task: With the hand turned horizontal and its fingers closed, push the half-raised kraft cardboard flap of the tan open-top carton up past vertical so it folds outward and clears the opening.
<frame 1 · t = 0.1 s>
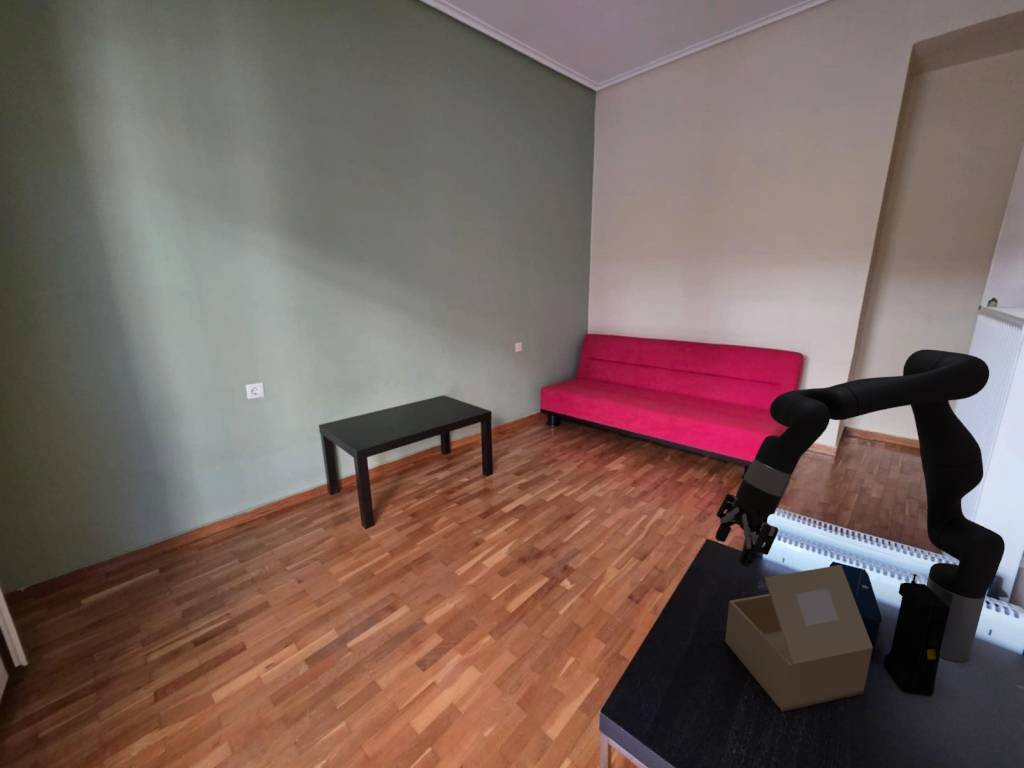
hand: (730, 551, 89), 31 cm above the table, tool tilted 20°, fingers open, 8 cm apart
carton flap: (817, 612, 88), point 19 cm above the table, hinge at 55.0°
portable radio: (909, 683, 92), on the table
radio: (847, 625, 108), on the table
kraft carton: (789, 665, 97), on the table
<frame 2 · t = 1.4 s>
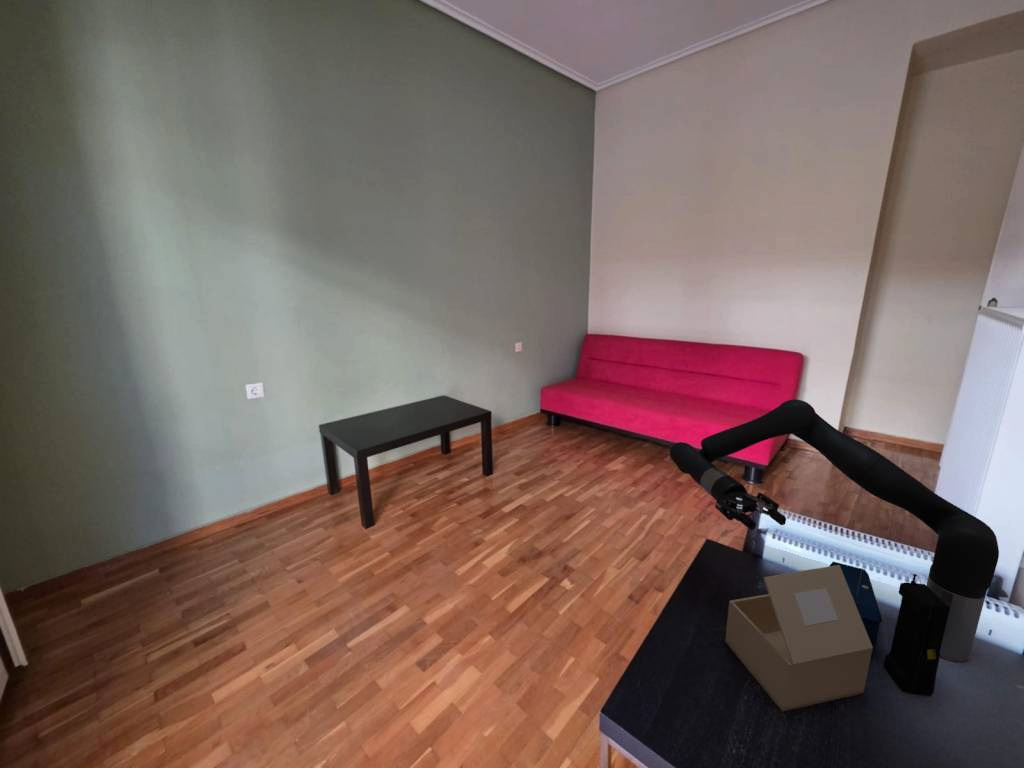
hand: (769, 524, 98), 32 cm above the table, tool horizontal, fingers open, 8 cm apart
carton flap: (817, 611, 88), point 19 cm above the table, hinge at 53.4°
everything else where it was.
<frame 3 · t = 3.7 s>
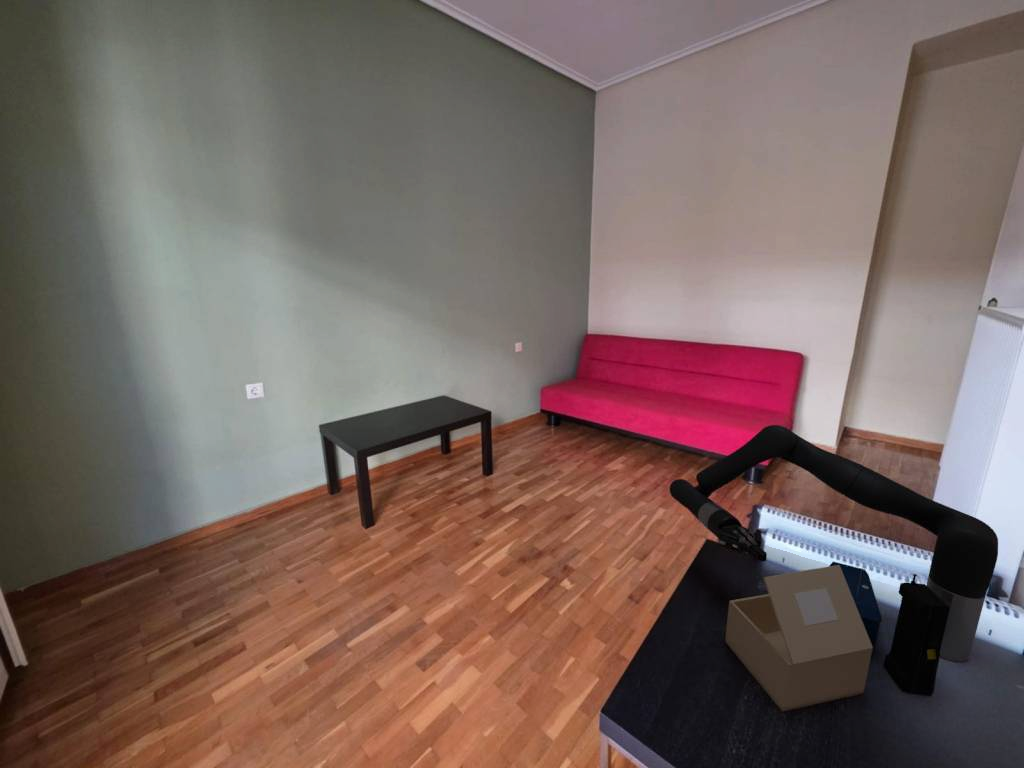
hand: (764, 558, 103), 21 cm above the table, tool horizontal, fingers closed
nothing on the table moved.
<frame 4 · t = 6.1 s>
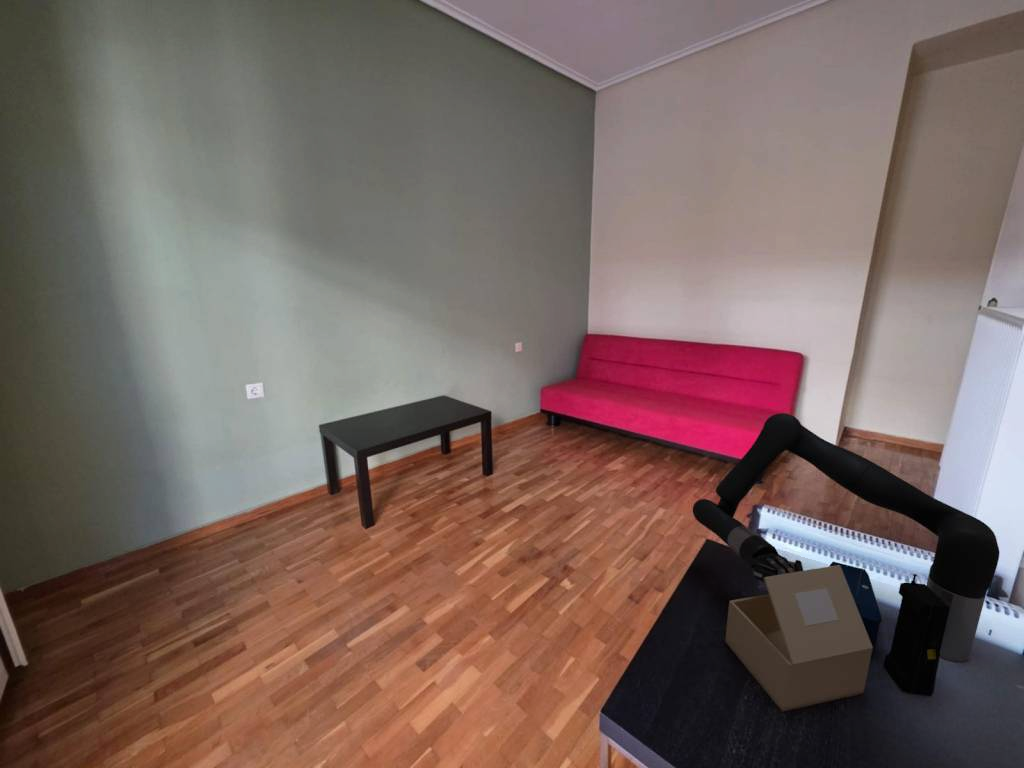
hand: (808, 595, 90), 21 cm above the table, tool horizontal, fingers closed
carton flap: (817, 611, 88), point 19 cm above the table, hinge at 53.9°, touching gripper
everything else where it was.
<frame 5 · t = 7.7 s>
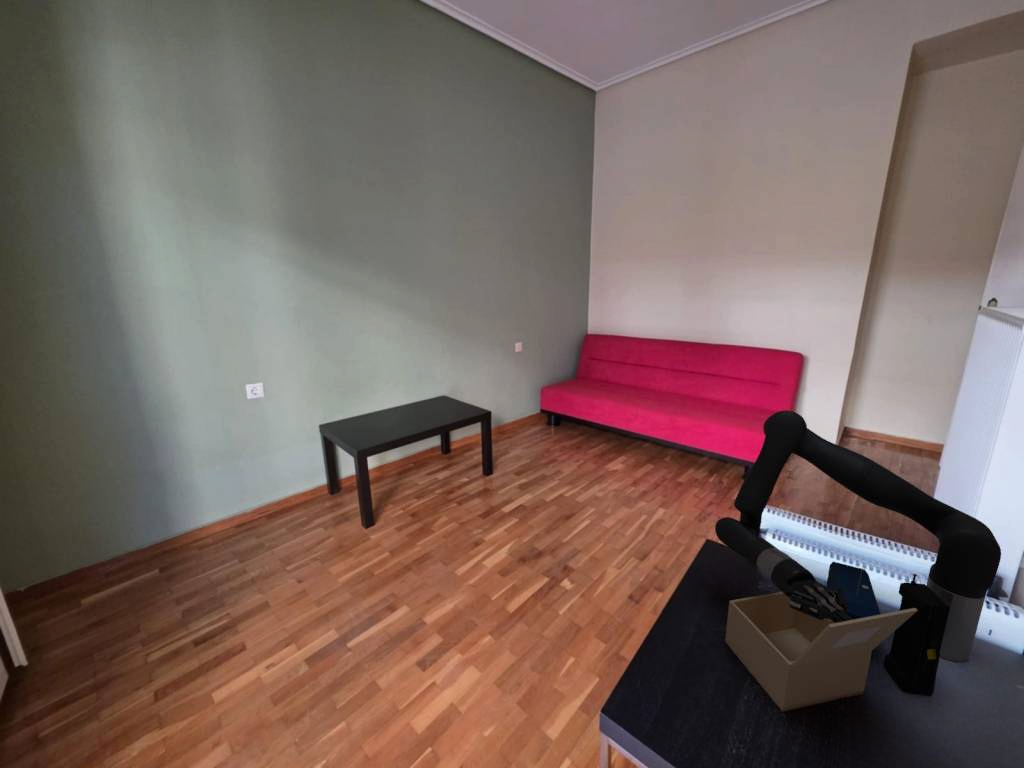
hand: (855, 630, 80), 22 cm above the table, tool horizontal, fingers closed
carton flap: (852, 638, 81), point 20 cm above the table, hinge at 111.5°, touching gripper
everything else where it was.
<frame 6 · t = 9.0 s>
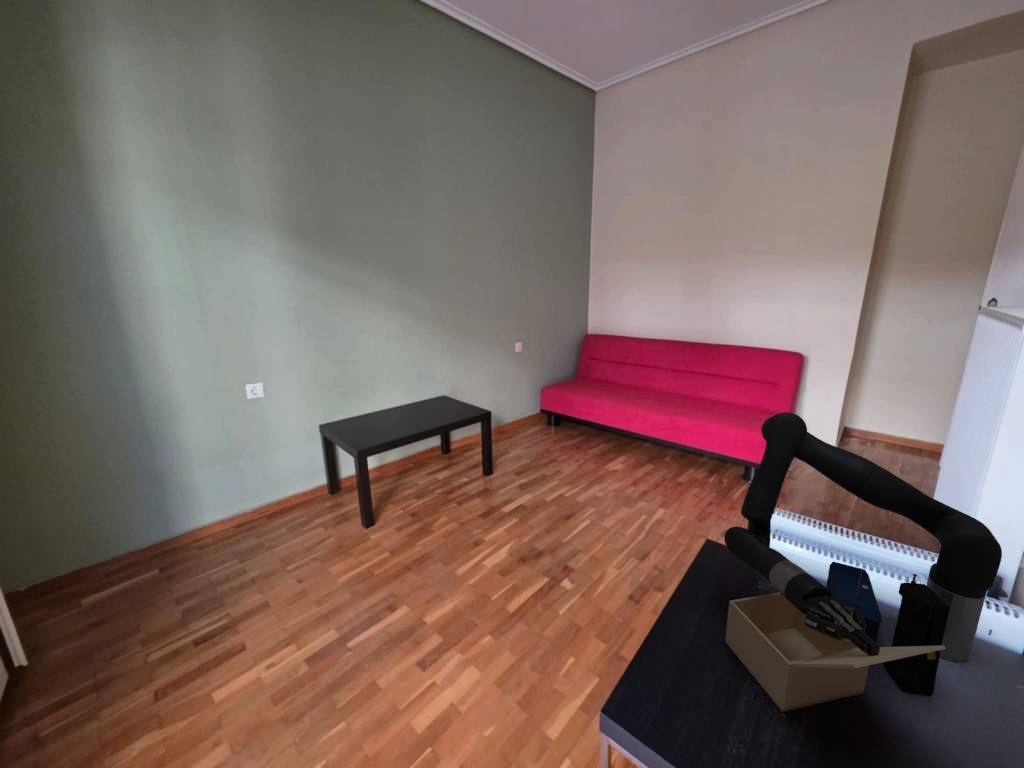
hand: (875, 652, 76), 21 cm above the table, tool horizontal, fingers closed
carton flap: (864, 657, 79), point 18 cm above the table, hinge at 133.9°, touching gripper
everything else where it was.
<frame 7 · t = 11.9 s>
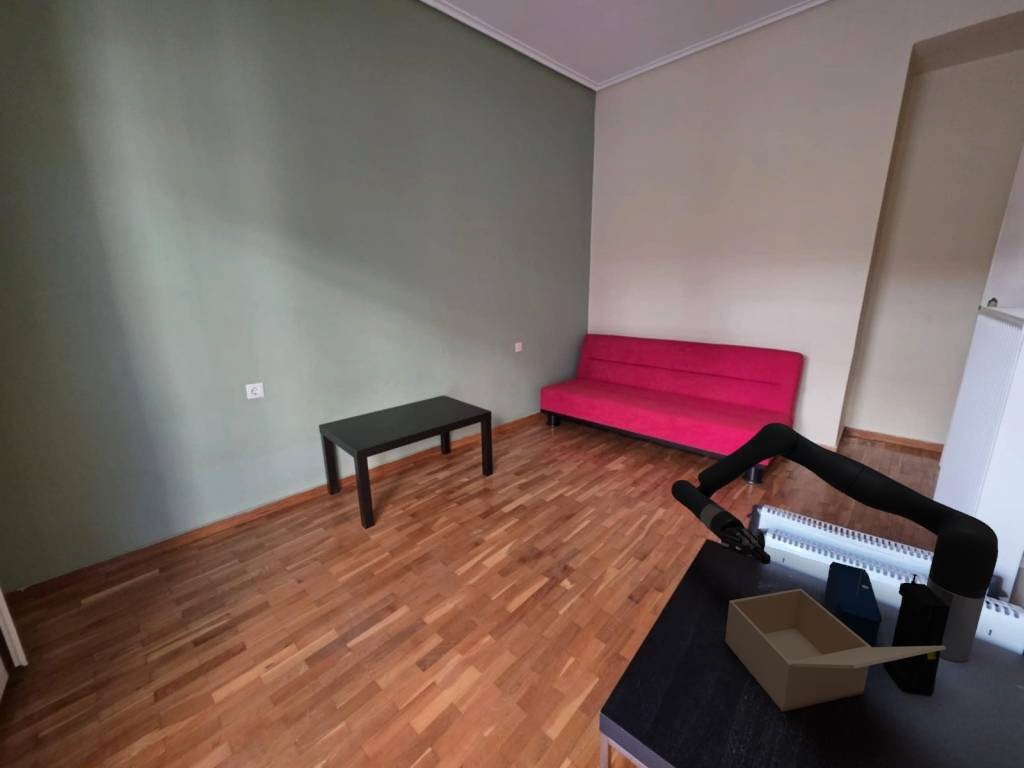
hand: (767, 561, 101), 21 cm above the table, tool horizontal, fingers closed
carton flap: (864, 657, 79), point 18 cm above the table, hinge at 134.0°
everything else where it was.
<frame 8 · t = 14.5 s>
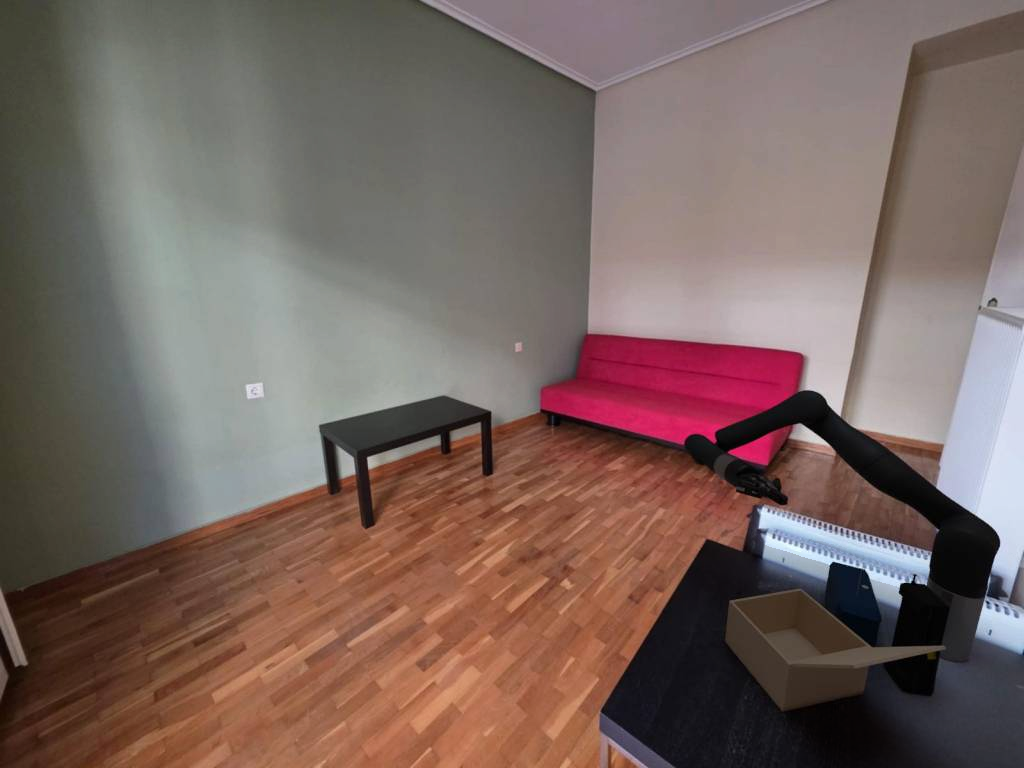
hand: (785, 501, 100), 36 cm above the table, tool horizontal, fingers closed
nothing on the table moved.
at the end: carton flap at +134° (first picture: +55°) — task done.
